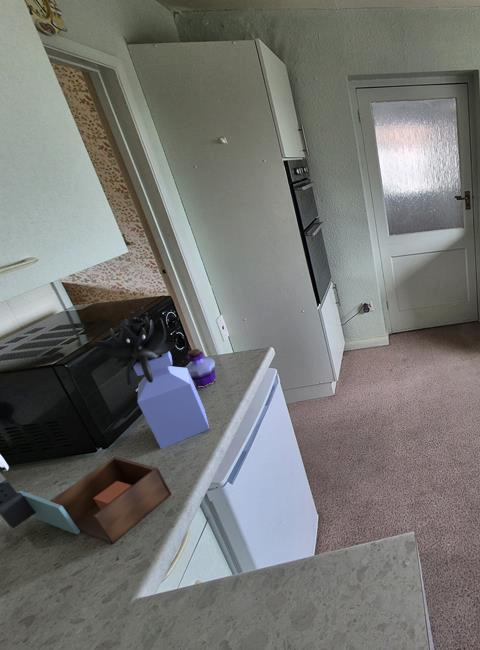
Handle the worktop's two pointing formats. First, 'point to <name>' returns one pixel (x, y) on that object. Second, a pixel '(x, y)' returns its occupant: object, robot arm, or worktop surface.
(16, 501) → the light blue flat panel
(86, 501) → the crate
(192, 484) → the worktop surface
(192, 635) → the worktop surface
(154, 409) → the vase
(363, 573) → the worktop surface
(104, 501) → the block
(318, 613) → the worktop surface
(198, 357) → the potion bottle
